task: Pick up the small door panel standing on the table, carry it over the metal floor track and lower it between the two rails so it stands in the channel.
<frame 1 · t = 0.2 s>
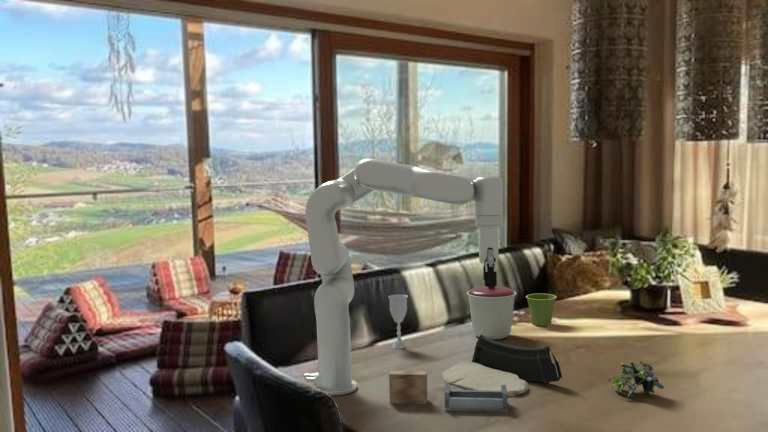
hand: (489, 283, 182), 31 cm above the table, tool pointing down, fingers open, 9 cm apart
canister: (491, 337, 243), on the table
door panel: (408, 401, 178), on the table
plant pot: (541, 325, 260), on the table
magazine: (514, 377, 197), on the table
stone tablet: (481, 384, 192), on the table
track: (475, 406, 173), on the table
chalice: (399, 347, 232), on the table
passion flower: (635, 396, 178), on the table
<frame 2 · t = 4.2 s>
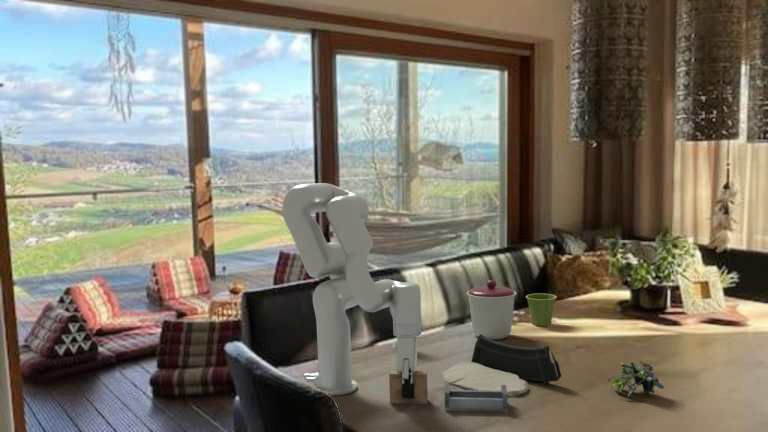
hand: (408, 394, 178), 2 cm above the table, tool pointing down, fingers closed on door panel, 3 cm apart
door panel: (408, 401, 178), on the table, touching gripper
everything else where it was.
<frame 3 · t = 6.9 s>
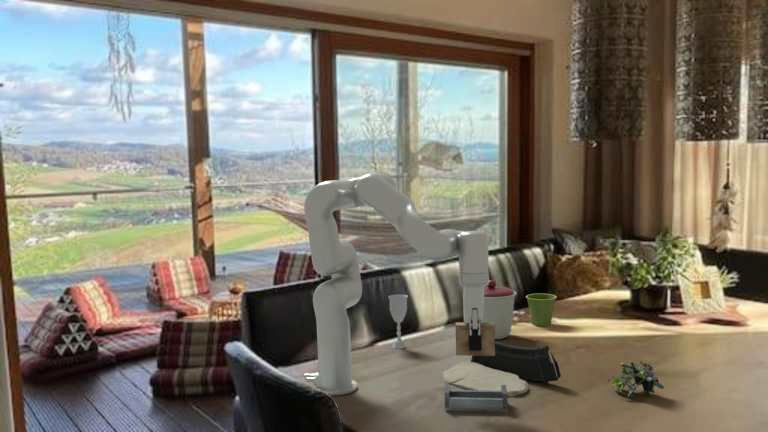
hand: (475, 347, 172), 16 cm above the table, tool pointing down, fingers closed on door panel, 3 cm apart
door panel: (475, 354, 172), point 14 cm above the table, touching gripper
everything else where it was.
when the fingers open (4 cm above the table, at t = 9.5 s): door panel drops 2 cm, resting on track.
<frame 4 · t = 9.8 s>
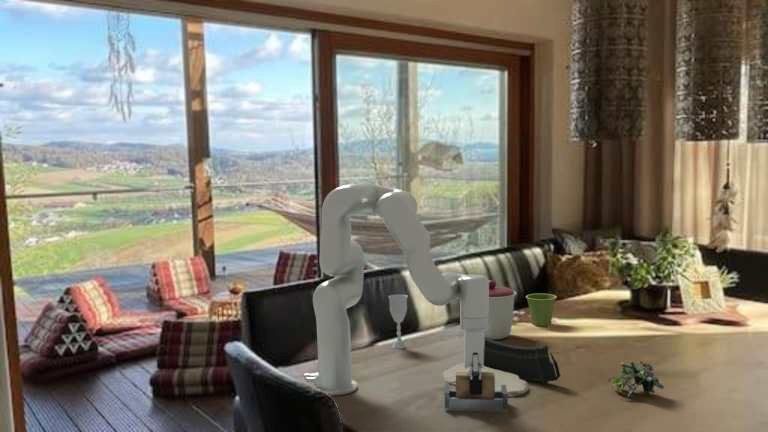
hand: (475, 389, 172), 5 cm above the table, tool pointing down, fingers open, 6 cm apart
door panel: (475, 403, 173), point 1 cm above the table, touching track
everything else where it was.
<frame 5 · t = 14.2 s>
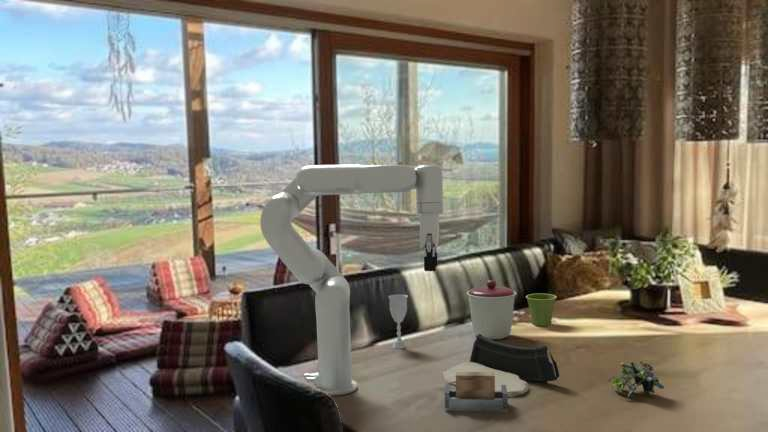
hand: (430, 268, 188), 34 cm above the table, tool pointing down, fingers open, 9 cm apart
nothing on the table moved.
at the end: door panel 0.1 cm off-centre on the track, point 0.8 cm above the track's base; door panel tilted 0°; the gripper is holding nothing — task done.
